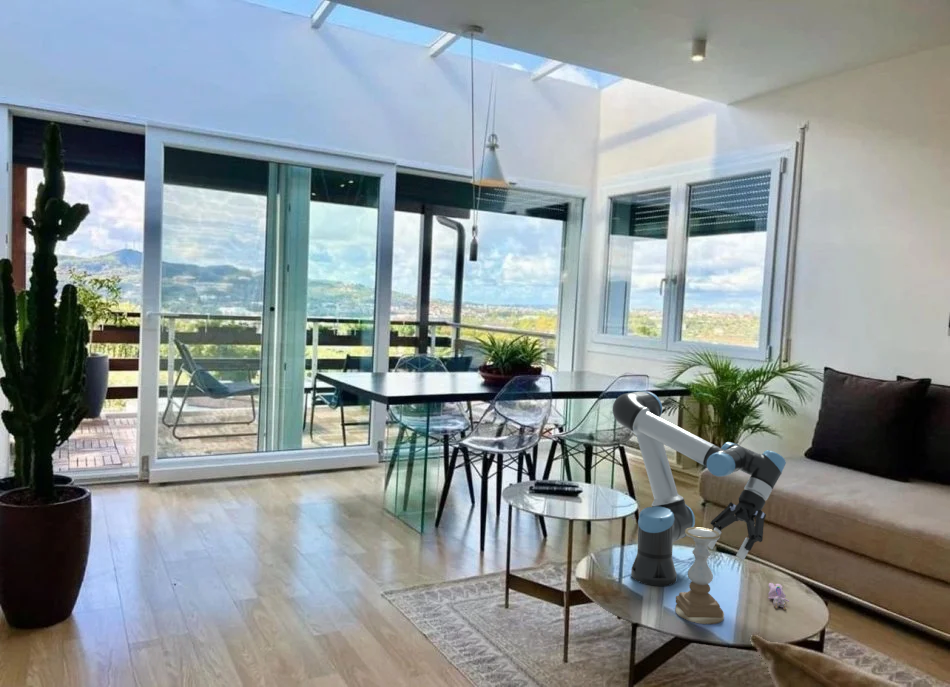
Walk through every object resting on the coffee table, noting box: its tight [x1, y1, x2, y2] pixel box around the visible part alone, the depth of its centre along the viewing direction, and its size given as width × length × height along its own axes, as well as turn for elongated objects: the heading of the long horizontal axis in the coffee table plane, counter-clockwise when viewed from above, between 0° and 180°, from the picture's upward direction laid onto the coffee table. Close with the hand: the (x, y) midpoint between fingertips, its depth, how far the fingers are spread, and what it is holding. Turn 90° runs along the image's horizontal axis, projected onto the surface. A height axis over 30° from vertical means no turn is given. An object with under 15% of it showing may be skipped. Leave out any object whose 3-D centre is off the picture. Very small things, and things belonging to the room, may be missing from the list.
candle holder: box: [675, 526, 724, 617], centre depth 206 cm, size 11×11×24 cm
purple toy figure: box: [767, 582, 790, 610], centre depth 217 cm, size 6×6×15 cm
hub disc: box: [675, 603, 725, 625], centre depth 206 cm, size 14×14×1 cm
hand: (723, 552), depth 212 cm, fingers open, 13 cm apart
